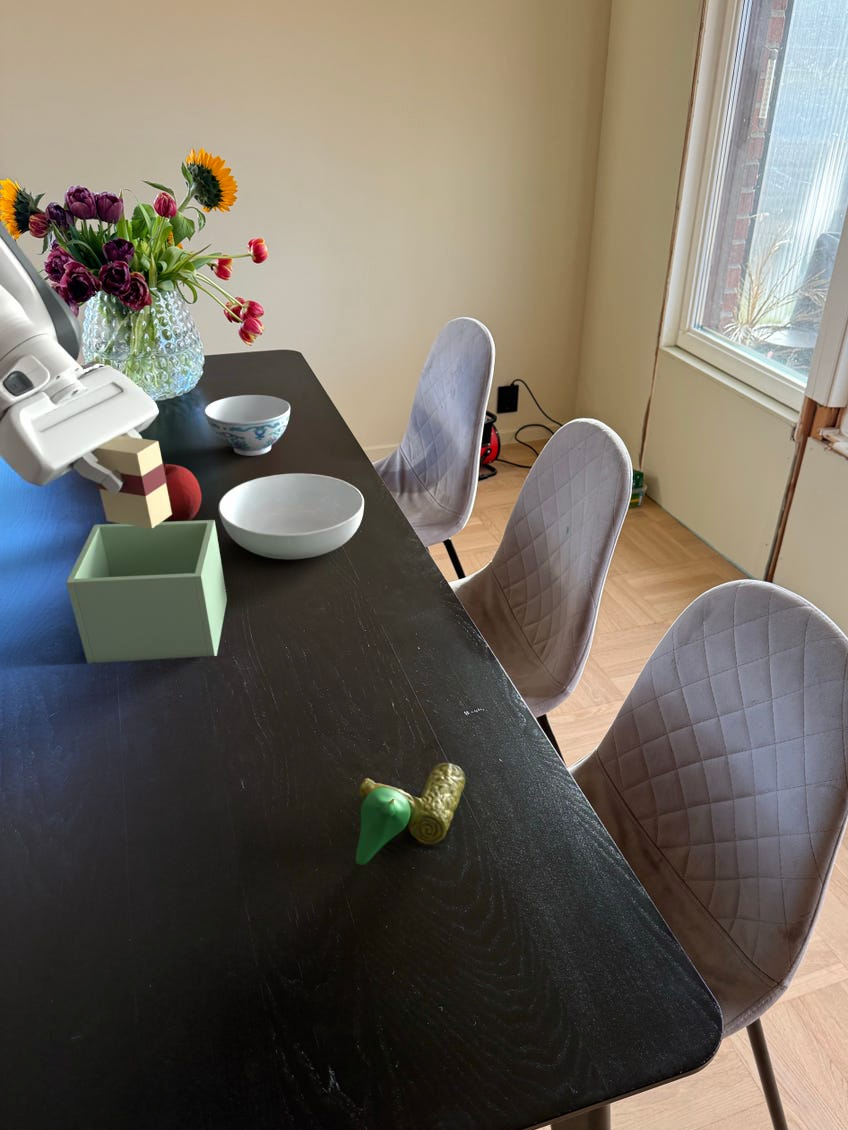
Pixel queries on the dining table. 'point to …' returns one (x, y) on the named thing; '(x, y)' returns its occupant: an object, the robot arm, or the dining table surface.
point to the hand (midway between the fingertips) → (135, 479)
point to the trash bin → (149, 592)
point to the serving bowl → (292, 515)
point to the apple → (181, 493)
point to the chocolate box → (135, 482)
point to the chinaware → (249, 422)
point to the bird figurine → (408, 810)
